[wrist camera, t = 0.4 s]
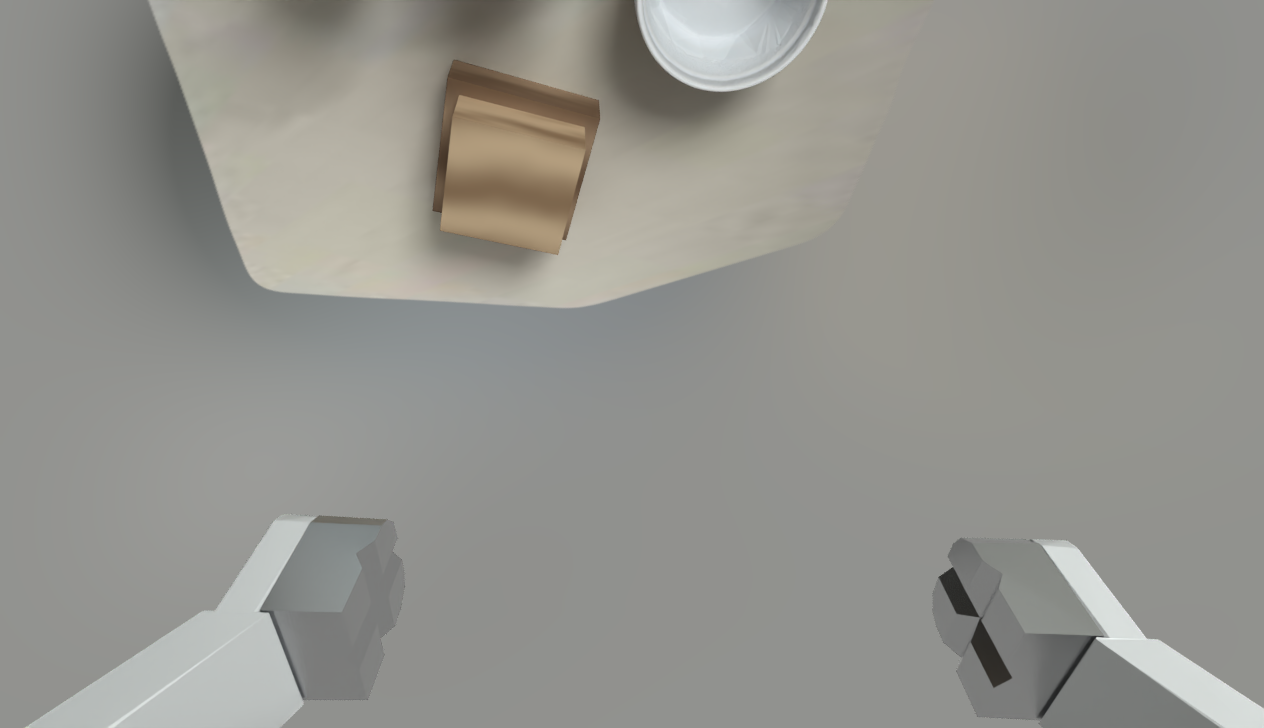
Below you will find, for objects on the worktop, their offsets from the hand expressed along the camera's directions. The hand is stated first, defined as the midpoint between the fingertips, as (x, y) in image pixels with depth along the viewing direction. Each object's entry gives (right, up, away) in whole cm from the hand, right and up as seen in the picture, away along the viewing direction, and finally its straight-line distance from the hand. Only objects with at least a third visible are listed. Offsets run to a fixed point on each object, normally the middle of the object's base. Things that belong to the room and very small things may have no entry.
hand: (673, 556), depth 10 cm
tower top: (-11, +19, +45) cm, 50 cm away
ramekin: (+6, +33, +39) cm, 51 cm away
